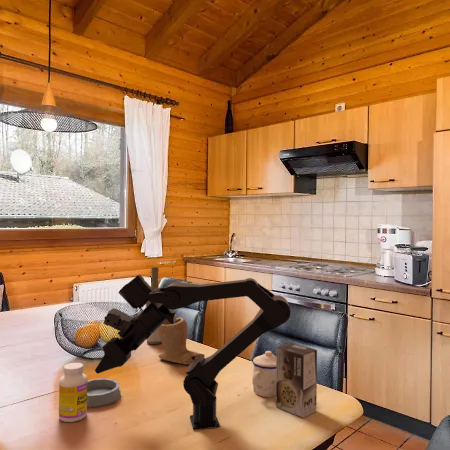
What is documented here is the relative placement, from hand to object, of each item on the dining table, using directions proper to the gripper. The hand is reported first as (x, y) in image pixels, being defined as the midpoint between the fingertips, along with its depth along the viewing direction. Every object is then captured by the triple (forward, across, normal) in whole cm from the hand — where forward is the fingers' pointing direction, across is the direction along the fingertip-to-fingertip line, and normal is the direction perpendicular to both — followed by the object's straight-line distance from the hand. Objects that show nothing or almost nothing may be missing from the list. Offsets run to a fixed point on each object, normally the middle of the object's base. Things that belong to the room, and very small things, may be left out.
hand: (103, 365), depth 105 cm
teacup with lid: (-20, -19, +38) cm, 47 cm away
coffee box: (-25, -10, +44) cm, 52 cm away
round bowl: (+13, -12, +5) cm, 19 cm away
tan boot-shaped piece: (+2, -43, +18) cm, 46 cm away
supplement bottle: (+15, 0, +4) cm, 15 cm away
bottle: (+11, -63, +8) cm, 64 cm away
